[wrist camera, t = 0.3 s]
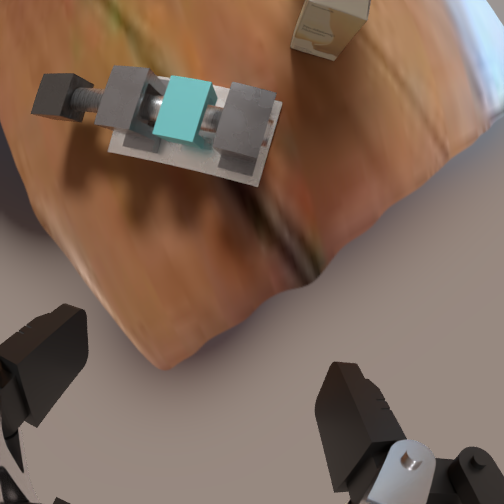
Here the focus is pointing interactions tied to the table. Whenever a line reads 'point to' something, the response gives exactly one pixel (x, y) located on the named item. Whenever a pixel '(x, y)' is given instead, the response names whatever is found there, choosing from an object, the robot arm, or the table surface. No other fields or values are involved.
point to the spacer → (184, 110)
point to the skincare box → (328, 26)
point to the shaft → (88, 100)
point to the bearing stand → (215, 145)
